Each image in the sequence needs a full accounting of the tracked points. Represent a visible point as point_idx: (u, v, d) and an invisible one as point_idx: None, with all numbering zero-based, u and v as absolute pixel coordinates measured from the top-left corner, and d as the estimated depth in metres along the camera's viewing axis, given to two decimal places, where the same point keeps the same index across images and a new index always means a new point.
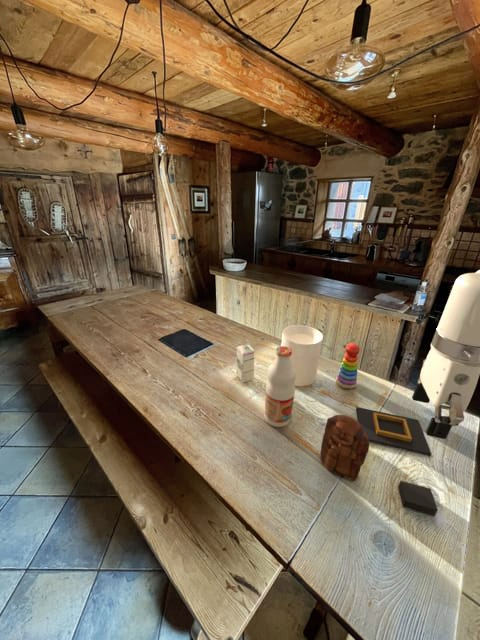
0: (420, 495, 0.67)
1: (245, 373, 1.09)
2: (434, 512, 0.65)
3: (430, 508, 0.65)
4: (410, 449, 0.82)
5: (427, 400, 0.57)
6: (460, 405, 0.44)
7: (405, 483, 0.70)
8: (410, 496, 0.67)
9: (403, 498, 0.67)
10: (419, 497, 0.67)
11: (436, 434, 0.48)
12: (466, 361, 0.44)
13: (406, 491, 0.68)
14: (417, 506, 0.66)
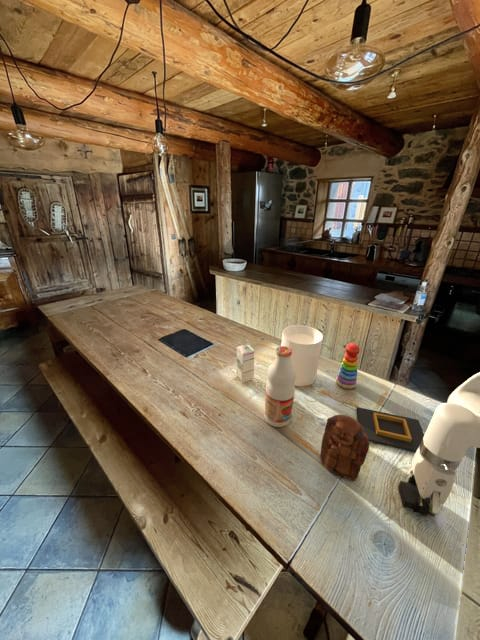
0: None
1: (245, 373, 1.09)
2: None
3: None
4: (410, 449, 0.82)
5: None
6: (437, 503, 0.59)
7: (405, 483, 0.70)
8: (410, 496, 0.67)
9: (403, 498, 0.67)
10: None
11: (419, 513, 0.65)
12: (444, 470, 0.58)
13: (406, 491, 0.68)
14: None
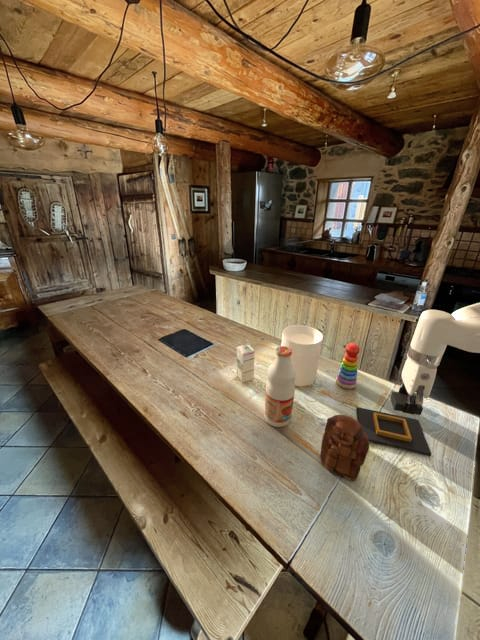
0: None
1: (245, 373, 1.09)
2: (420, 411, 0.76)
3: (417, 407, 0.76)
4: (410, 449, 0.82)
5: None
6: (422, 395, 0.70)
7: (396, 392, 0.81)
8: (400, 400, 0.78)
9: (394, 402, 0.79)
10: None
11: (408, 411, 0.76)
12: (427, 365, 0.69)
13: (396, 397, 0.79)
14: None
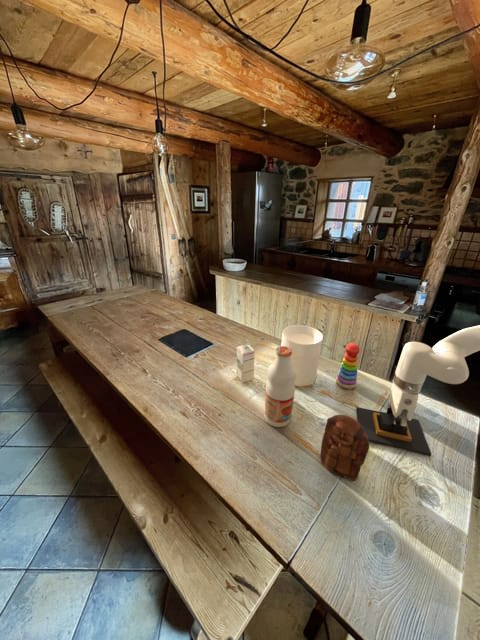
0: None
1: (245, 373, 1.09)
2: (405, 431, 0.84)
3: (402, 428, 0.84)
4: (410, 449, 0.82)
5: None
6: (405, 418, 0.78)
7: (384, 413, 0.89)
8: (387, 421, 0.86)
9: (382, 422, 0.87)
10: None
11: (394, 431, 0.84)
12: (410, 391, 0.77)
13: (384, 418, 0.87)
14: None
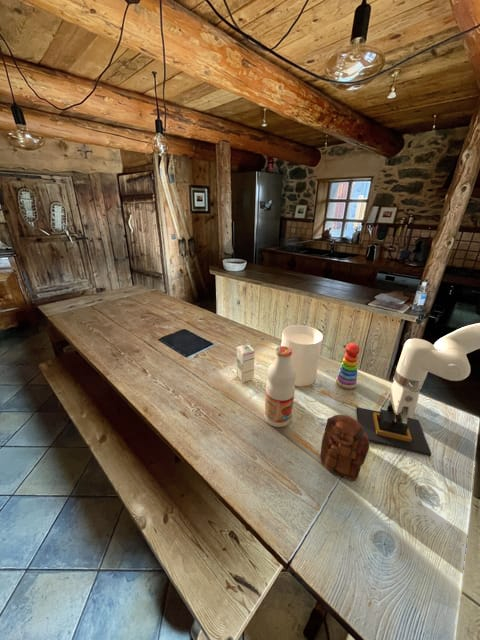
0: None
1: (245, 373, 1.09)
2: (406, 428, 0.84)
3: None
4: (410, 449, 0.82)
5: None
6: (406, 415, 0.78)
7: (384, 410, 0.89)
8: (388, 418, 0.86)
9: (382, 420, 0.86)
10: None
11: (394, 428, 0.83)
12: (411, 388, 0.77)
13: (385, 415, 0.87)
14: None
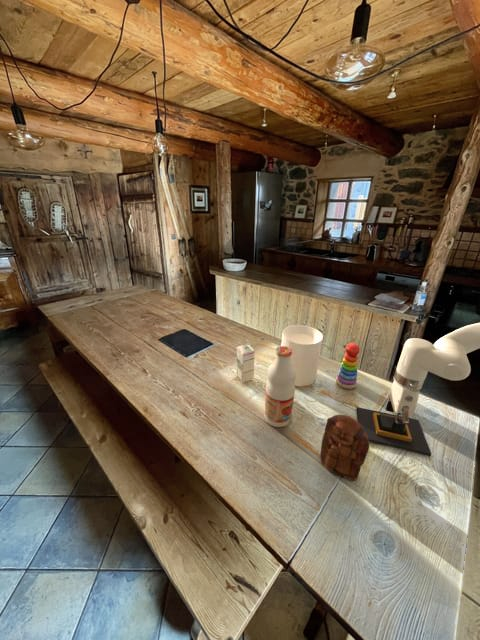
0: None
1: (245, 373, 1.09)
2: (404, 433, 0.85)
3: None
4: (410, 449, 0.82)
5: None
6: (407, 414, 0.77)
7: (383, 415, 0.90)
8: (386, 423, 0.87)
9: (381, 425, 0.87)
10: None
11: (396, 430, 0.82)
12: (411, 388, 0.77)
13: (383, 420, 0.88)
14: None
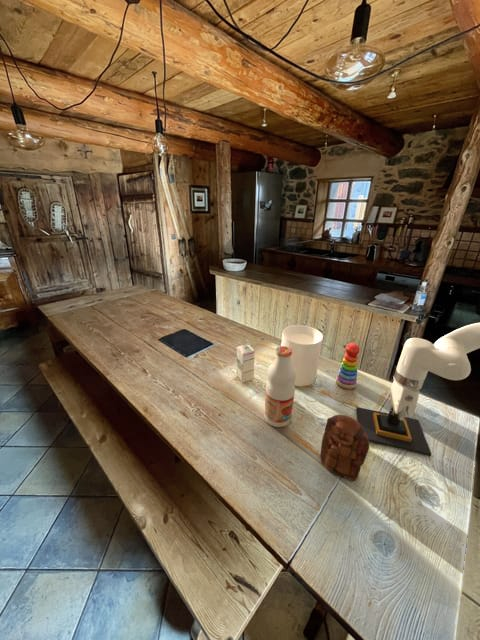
0: None
1: (245, 373, 1.09)
2: (404, 433, 0.85)
3: (400, 430, 0.85)
4: (410, 449, 0.82)
5: None
6: (404, 414, 0.79)
7: (383, 415, 0.90)
8: (386, 423, 0.87)
9: (381, 425, 0.87)
10: None
11: (392, 422, 0.86)
12: (411, 388, 0.77)
13: (383, 420, 0.88)
14: (391, 429, 0.85)
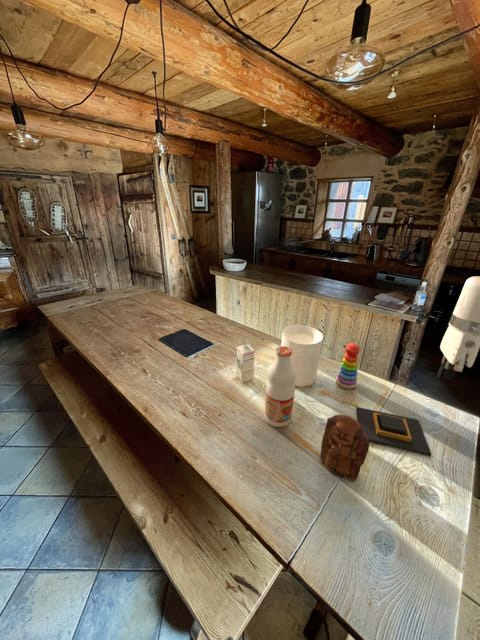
0: (393, 423, 0.87)
1: (245, 373, 1.09)
2: (404, 433, 0.85)
3: (400, 430, 0.85)
4: (410, 449, 0.82)
5: None
6: (463, 363, 0.71)
7: (383, 415, 0.90)
8: (386, 423, 0.87)
9: (381, 425, 0.87)
10: (393, 423, 0.87)
11: (445, 377, 0.78)
12: (473, 332, 0.69)
13: (383, 420, 0.88)
14: (391, 429, 0.85)
